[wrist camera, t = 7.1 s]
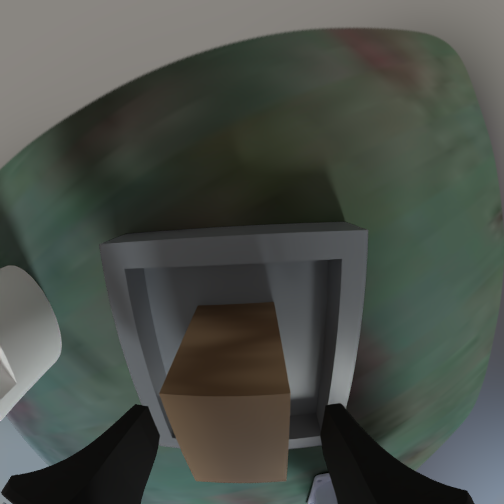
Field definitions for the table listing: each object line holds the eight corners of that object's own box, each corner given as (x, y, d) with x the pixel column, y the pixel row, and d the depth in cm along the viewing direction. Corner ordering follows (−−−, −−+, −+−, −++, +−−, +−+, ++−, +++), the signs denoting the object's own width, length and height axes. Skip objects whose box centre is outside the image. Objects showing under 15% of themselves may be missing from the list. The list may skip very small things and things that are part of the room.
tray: (328, 413, 17) (337, 442, 14) (169, 417, 17) (160, 445, 14) (345, 221, 14) (368, 230, 11) (126, 233, 14) (99, 244, 11)
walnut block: (274, 301, 14) (290, 393, 7) (276, 387, 15) (286, 480, 8) (197, 305, 14) (159, 393, 7) (212, 390, 15) (195, 480, 8)
